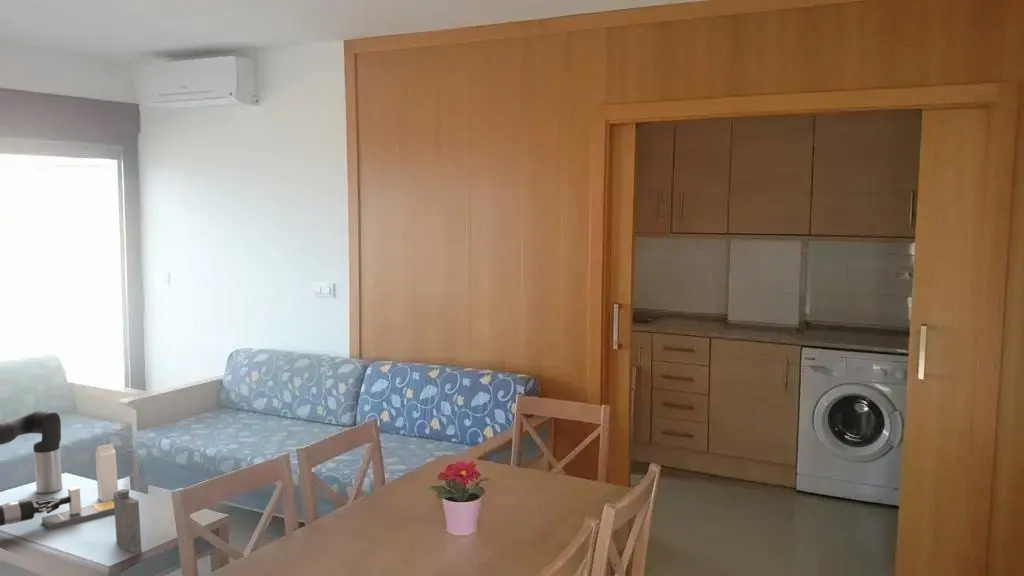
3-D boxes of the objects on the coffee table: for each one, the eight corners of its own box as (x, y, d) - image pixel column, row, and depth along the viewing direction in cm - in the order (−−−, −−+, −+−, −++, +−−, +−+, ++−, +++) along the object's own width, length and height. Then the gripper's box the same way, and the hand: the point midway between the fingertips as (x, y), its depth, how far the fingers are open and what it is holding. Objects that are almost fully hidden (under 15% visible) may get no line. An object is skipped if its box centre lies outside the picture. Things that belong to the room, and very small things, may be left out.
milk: (118, 498, 324) (115, 445, 321) (102, 502, 319) (99, 448, 317) (113, 494, 328) (110, 441, 326) (97, 498, 324) (94, 444, 322)
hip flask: (143, 551, 274) (139, 494, 271) (130, 554, 271) (127, 497, 269) (124, 538, 284) (121, 483, 282) (112, 541, 281) (108, 486, 279)
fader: (69, 511, 303) (67, 488, 302) (78, 509, 305) (76, 486, 304) (72, 514, 300) (70, 490, 299) (81, 512, 302) (79, 488, 301)
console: (42, 522, 299) (41, 516, 299) (116, 504, 317) (115, 498, 317) (49, 530, 292) (49, 524, 292) (125, 510, 310) (124, 505, 310)
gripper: (21, 506, 284) (74, 493, 296) (11, 497, 293) (64, 485, 305) (22, 527, 284) (76, 513, 296) (13, 516, 294) (65, 504, 306)
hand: (70, 499), depth 301 cm, fingers closed
